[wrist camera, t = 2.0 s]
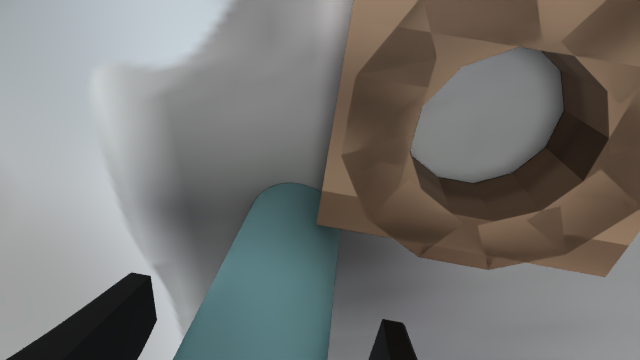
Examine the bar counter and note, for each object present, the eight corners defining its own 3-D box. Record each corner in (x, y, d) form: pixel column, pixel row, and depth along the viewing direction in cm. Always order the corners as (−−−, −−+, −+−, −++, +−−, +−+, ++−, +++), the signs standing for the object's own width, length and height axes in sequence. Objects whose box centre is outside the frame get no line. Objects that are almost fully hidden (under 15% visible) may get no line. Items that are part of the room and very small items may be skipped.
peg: (332, 264, 16) (309, 470, 9) (248, 249, 16) (164, 441, 9) (347, 192, 14) (332, 382, 7) (252, 175, 15) (149, 347, 8)
